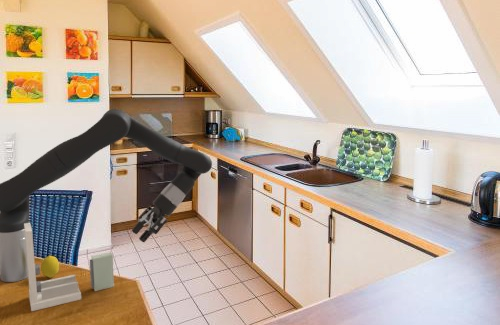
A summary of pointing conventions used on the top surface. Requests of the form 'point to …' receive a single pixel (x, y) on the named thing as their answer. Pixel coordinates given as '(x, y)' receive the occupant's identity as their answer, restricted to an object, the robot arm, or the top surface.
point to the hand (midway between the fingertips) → (137, 236)
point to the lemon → (50, 266)
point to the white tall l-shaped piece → (47, 282)
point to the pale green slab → (101, 271)
